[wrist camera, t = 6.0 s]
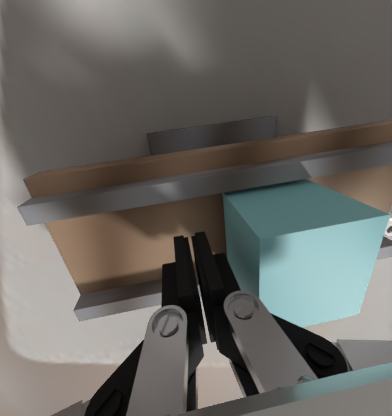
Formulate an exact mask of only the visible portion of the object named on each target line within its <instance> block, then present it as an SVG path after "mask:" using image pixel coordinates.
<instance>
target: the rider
mask: <svg viewBox="0 0 392 416" xmlns="http://www.w3.org/2000/svg"><path fill="white" fill-rule="evenodd" d="M223 205H224V219H225V233H226V247H227V260H228V262H229V264H230V267H231V269H232V271H233V273H234V276H235V278H236V280H237V282H238V285H239V287H240V289H241V291H248V292H251V293H253V294H254V295H256V296H257V297H258V298H259V299H260V300H261V301H262V303H263V304H264V306H265V307H266V308H267V310H268V311H269V312H270V313H271V314H273V315H276V316H278V317H280V318H282V319H284V320H286V321H289V322H291V323H293V324H295V325H297V326H299V327H306V326H310V325H315V324H319V323H324V322H328V321H332V320H337V319H341V318H345V317H350V316H354V315H359V312H360V309H361V306H362V303H363V299H364V296H365V293H366V290H367V287H368V284H369V280H370V277H371V274H372V271H373V268H374V265H375V262H376V258H377V255H378V252H379V249H380V246H381V243H382V240H383V236H384V233H385V230H386V227H387V224H388V221H389V217H390V214H388V213H386V212H383V211H381V210H379V209H376V208H374V207H371V206H369V205H367V204H364V203H362V202H360V201H357V200H355V199H353V198H350V197H348V196H346V195H343V194H341V193H339V192H336V191H334V190H331V189H329V188H327V187H324V186H322V185H320V184H317V183H315V182H313V181H310V180H308V179H302V180H296V181H290V182H285V183H279V184H273V185H267V186H261V187H255V188H249V189H243V190H237V191H231V192H225V193H223Z"/></svg>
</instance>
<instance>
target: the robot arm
mask: <svg viewBox="0 0 392 416" xmlns="http://www.w3.org/2000/svg"><path fill="white" fill-rule="evenodd" d="M389 214H390V217H389V221H388V224H387V227H386V230H385V233H384V235H386V236H390V237H392V205H391V208H390V211H389ZM191 239H192V246H193V252H194V258H195V265H196V271H197V277H198V282H199V287H200V292H201V297H202V302H203V307H204V311H205V316H206V321H207V326H208V331H209V336H210V340H211V342H215V341H216V345H217V350H219V352H220V353H221V354H223V355H224V356H226V357H227V358H229V362H230V365H231V368H232V370H233V372H234V375H235V377H236V380H237V382H238V384H239V387H240V389H241V392H242V394H243V396H244V398H240V399H237V400H233V401H229V402H225V403H221V404H217V405H213V406H209V407H205V408H201V409H198V369H197V366H198V365H199V363H200V361H201V360H202V358H203V357H204V354H203V347H202V344H206V343H207V340H206V333H205V327H204V321H203V315H202V308H201V302H200V296H199V290H198V285H197V280H196V275H195V270H194V265H193V260H192V255H191V250H190V245H189V240H188V237H185V238H184V235H181V236H175V237H174V251H175V262H172V263H166V264H163V265H162V307H161V308H160V309H158V310H157V311H156V312H154V313H153V315H152V316H151V317H150V320H149V322H148V325H147V330H146V334H145V338H144V340H143V341H142V342H141V343H140V344H139V345H138V346H137V347H136V348H135V350H134V351H133V352H132V353H131V354H130V355H129V356H128V357H127V358H126V360H125V361H124V362H123V363H122V364H121V365H120V366H119V367H118V368H117V369H116V371H115V372H114V373H113V374H112V375H111V376H110V378H108V379H107V381H106V382H105V383H104V384H103V385H102V386H101V387H100V388H99V389H98V390H97V392H96V393H95V394H94V396H93V397H92V398H91V399H90V400H89V401H87V402H85V403H84V402H83V401H82V400H81V401H79V402H77V403H75V404H73V405H71V406H69V407H67V408H65V409H63V410H61V411H59V412H57V413H55V414H53V415H51V416H392V341H382V340H339V339H337V342H330V341H328V340H326V339H325V338H323V337H321V336H319V335H317V334H314V333H312V332H310V331H308V330H306V329H304V328H302V327H299V326H297V325H295V324H293V323H291V322H289V321H286V320H284V319H282V318H280V317H278V316H276V315H273V314H271V313H270V312H269V311H268V310H267V308H266V307H265V306H264V304H263V303H262V301H261V300H260V299H259V298H258V297H257V296H256V295H254V294H253V293H251V292H248V291H241V289H240V287H239V285H238V282H237V280H236V278H235V276H234V273H233V271H232V269H231V267H230V264H229V262H228V260H227V258H226V255H225V254H224V253H219V254H213V253H212V250H211V248H210V245H209V242H208V239H207V236H206V234H205V231H203V232H197V233H195V236H191Z"/></svg>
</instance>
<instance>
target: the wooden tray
mask: <svg viewBox="0 0 392 416" xmlns="http://www.w3.org/2000/svg"><path fill="white" fill-rule="evenodd" d="M147 136H148V141H149V146H150V150H151V155H152V156H146V157H139V158H133V159H126V160H119V161H113V162H106V163H99V164H92V165H86V166H79V167H72V168H66V169H59V170H52V171H45V172H39V173H37V174H35V175H33V176H30V177H28V178H26V179H23V180H24V182H25V184H26V186H27V188H28V190H29V192H30V194H31V196H32V198H31V199H30V200H28V201H26V202H25V203H23V204H21V205H20V206H18V207H17V208H18V210H19V212H20V214H21V215H22V217H23V219H24V221H25V223H26V225H27V226H28V225H34V224H40V223H45V224H46V226H47V228H48V230H49V232H50V234H51V236H52V238H53V240H54V242H55V244H56V246H57V248H58V250H59V252H60V254H61V256H62V258H63V260H64V262H65V264H66V266H67V268H68V270H69V272H70V274H71V276H72V278H73V280H74V282H75V284H76V286H77V288H78V290H79V292H80V294H81V296H80V298H79V300H78V302H77V304H76V306H75V308H74V310H73V311H74V312H75V314H76V316H77V318H78V320H79V321H84V320H88V319H93V318H98V317H103V316H108V315H112V314H117V313H122V312H127V311H132V310H137V309H141V308H146V307H151V306H156V305H161V304H162V265H163V264H166V263H172V262H175V251H174V237H175V236H181V235H184V238H185V237H188V240H189V245H190V250H191V255H192V260H193V265H194V270H195V275H196V280H197V285H198V290H199V296H201V292H200V287H199V282H198V277H197V271H196V265H195V258H194V252H193V246H192V239H191V236H195V233H197V232H203V231H205V234H206V236H207V239H208V242H209V245H210V248H211V250H212V253H213V254H219V253H224V254H225V255H226V258H227V247H226V233H225V219H224V205H223V193H225V192H231V191H237V190H243V189H249V188H255V187H261V186H267V185H273V184H279V183H285V182H290V181H296V180H302V179H308V180H310V181H313V182H315V183H317V184H320V185H322V186H324V187H327V188H329V189H331V190H334V191H336V192H339V193H341V194H343V195H346V196H348V197H350V198H353V199H355V200H357V201H360V202H362V203H364V204H367V205H369V206H371V207H374V208H376V209H379V210H381V211H383V212H386V213H388V214H389V211H390V208H391V205H392V120H388V121H381V122H375V123H368V124H361V125H354V126H348V127H341V128H334V129H328V130H321V131H314V132H307V133H301V134H294V135H287V136H281V137H276V116H270V117H262V118H255V119H248V120H241V121H234V122H227V123H220V124H212V125H205V126H198V127H191V128H184V129H177V130H170V131H162V132H155V133H148V134H147ZM387 257H392V241H391V240H389V239H388V238H386V237H384V236H383V240H382V243H381V246H380V249H379V252H378V255H377V258H376V260H378V259H383V258H387Z"/></svg>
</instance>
